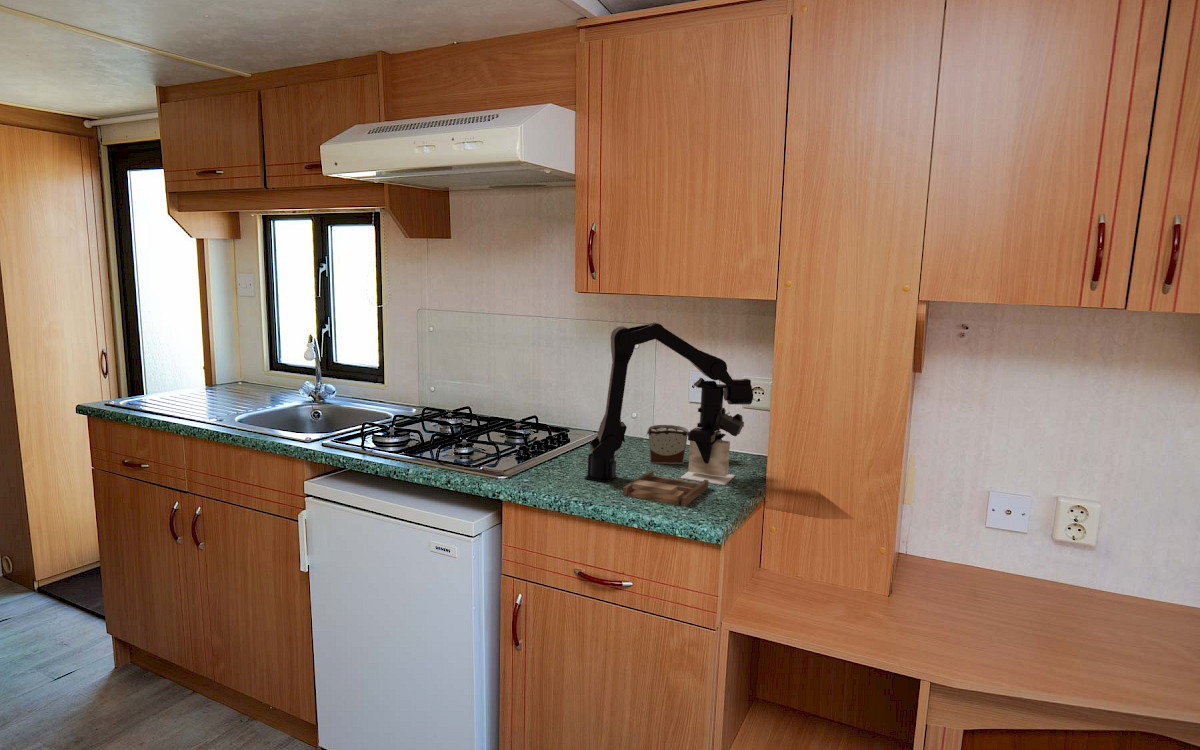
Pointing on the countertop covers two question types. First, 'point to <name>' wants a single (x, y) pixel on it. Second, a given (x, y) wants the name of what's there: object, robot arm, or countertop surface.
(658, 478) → the rack
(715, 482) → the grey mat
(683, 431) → the food container
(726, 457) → the maple panel
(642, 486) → the offcut stack
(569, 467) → the countertop surface
